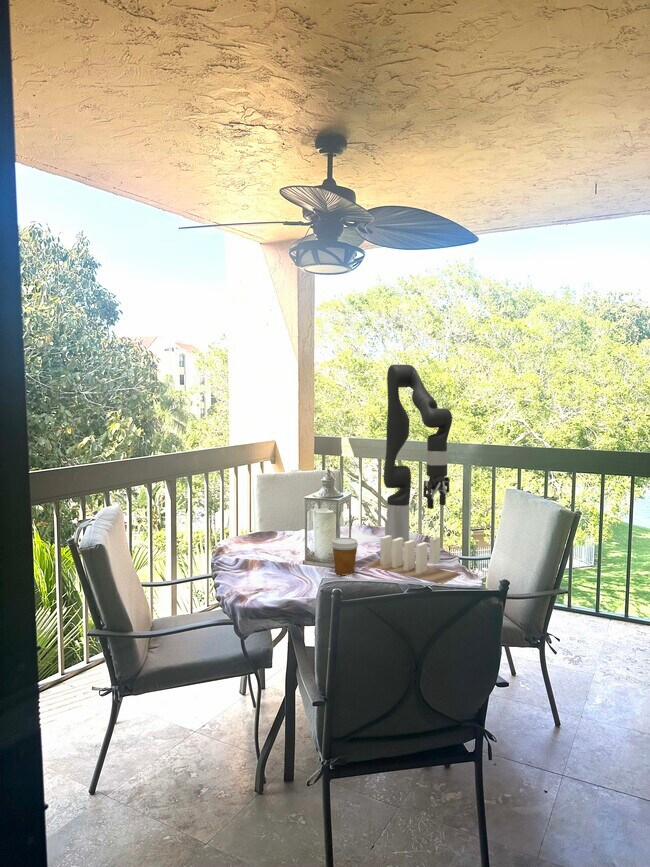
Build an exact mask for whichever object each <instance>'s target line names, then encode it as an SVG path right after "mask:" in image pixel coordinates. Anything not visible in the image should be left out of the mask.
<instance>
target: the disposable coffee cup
mask: <svg viewBox="0 0 650 867" xmlns="http://www.w3.org/2000/svg"><path fill="white" fill-rule="evenodd" d="M358 546H359V542H358V541H357V539H356V538H353V537H337V538H334V539H332V542H331V548H332V553H333V561H334V569H335V575H336V576H338V575H340V576H339V577H342V576H348V575H351V574H353V573H354V572H355V567H356V565H355V564H356V558H357V550H358Z"/></svg>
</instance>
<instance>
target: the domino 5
mask: <svg viewBox="0 0 650 867" xmlns="http://www.w3.org/2000/svg"><path fill="white" fill-rule="evenodd" d="M440 561H441V537H440V536H435V537H433V538H430V539H429V560H428V562H429V564H431V565H435V564H437V563H438V562H440Z"/></svg>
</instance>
